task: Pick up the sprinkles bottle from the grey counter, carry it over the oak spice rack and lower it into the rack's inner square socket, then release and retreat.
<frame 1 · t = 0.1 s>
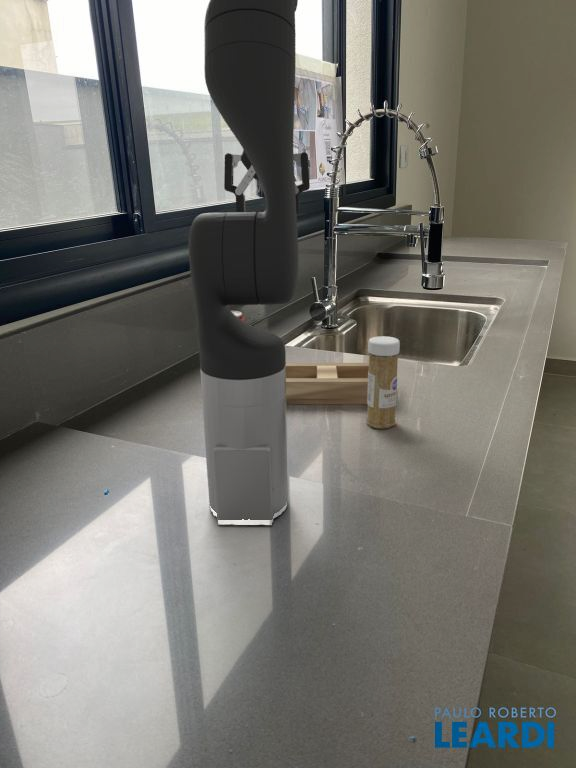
hand: (268, 217, 103), 29 cm above the counter, fingers open, 8 cm apart
beverage can: (231, 376, 116), on the counter
rack: (326, 393, 105), on the counter
sprinkles bottle: (380, 424, 93), on the counter
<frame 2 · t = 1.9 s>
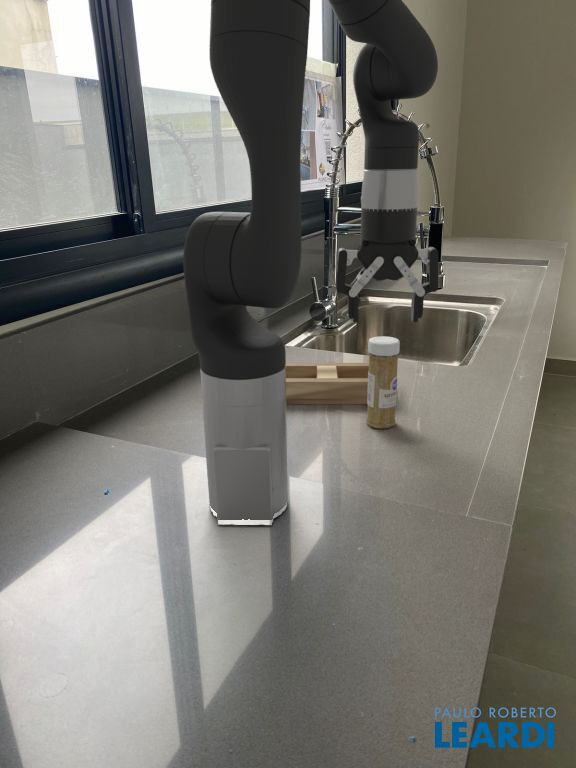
hand: (384, 321, 88), 16 cm above the counter, fingers open, 8 cm apart
nothing on the counter moved.
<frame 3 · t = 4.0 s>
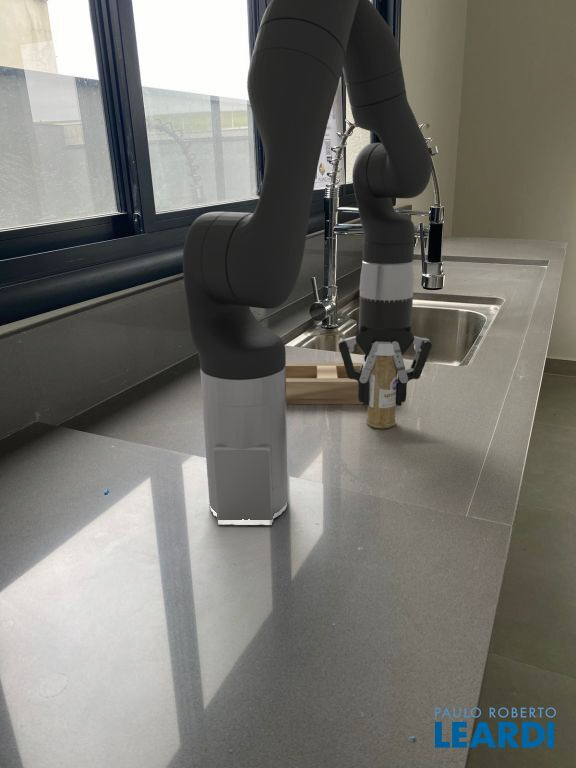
hand: (381, 403, 92), 3 cm above the counter, fingers closed on sprinkles bottle, 4 cm apart
sprinkles bottle: (380, 424, 93), on the counter, touching gripper
everything else where it was.
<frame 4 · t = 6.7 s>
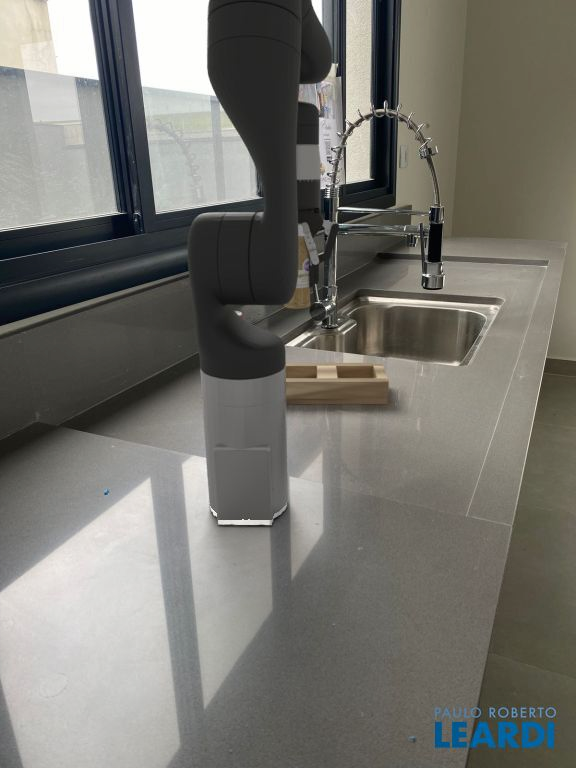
hand: (297, 286, 99), 19 cm above the counter, fingers closed on sprinkles bottle, 4 cm apart
sprinkles bottle: (297, 307, 100), point 15 cm above the counter, touching gripper
everything else where it was.
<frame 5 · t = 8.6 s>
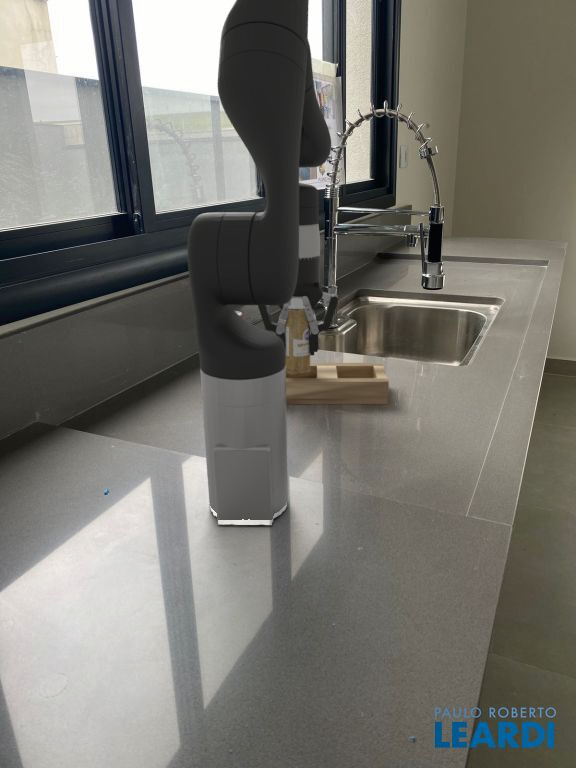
hand: (297, 353, 103), 7 cm above the counter, fingers closed on sprinkles bottle, 4 cm apart
sprinkles bottle: (297, 372, 104), point 4 cm above the counter, touching gripper
everything else where it was.
when the fingers open (6 cm above the counter, at t = 9.8 s): sprinkles bottle drops 1 cm, resting on rack.
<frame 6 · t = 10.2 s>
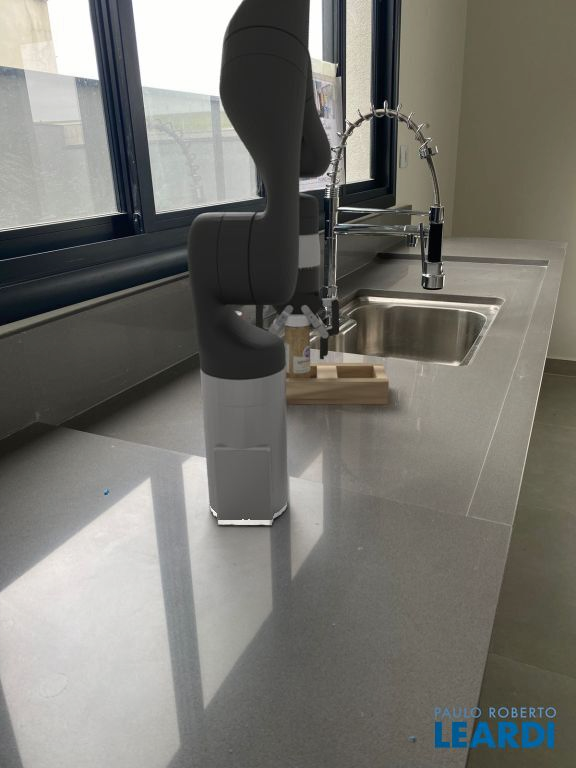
hand: (297, 358, 103), 7 cm above the counter, fingers open, 8 cm apart
sprinkles bottle: (297, 389, 105), point 1 cm above the counter, touching rack
everything else where it was.
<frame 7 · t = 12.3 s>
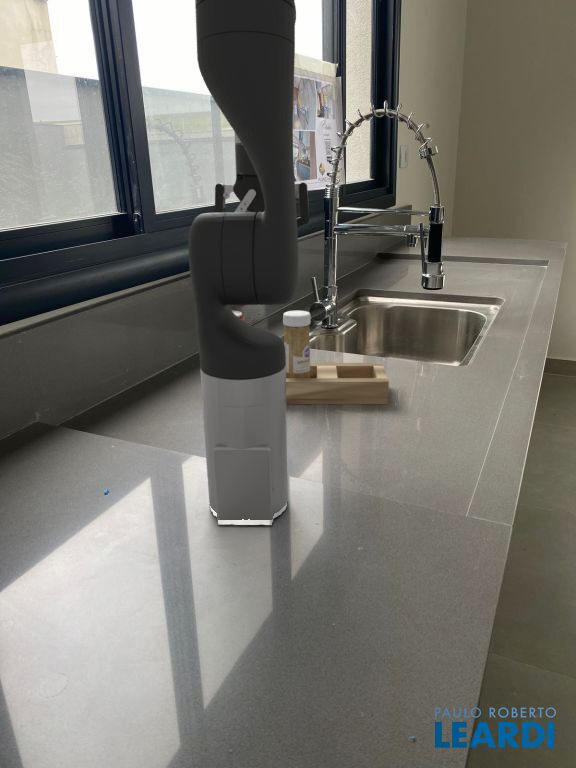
hand: (263, 253, 94), 25 cm above the counter, fingers open, 8 cm apart
nothing on the counter moved.
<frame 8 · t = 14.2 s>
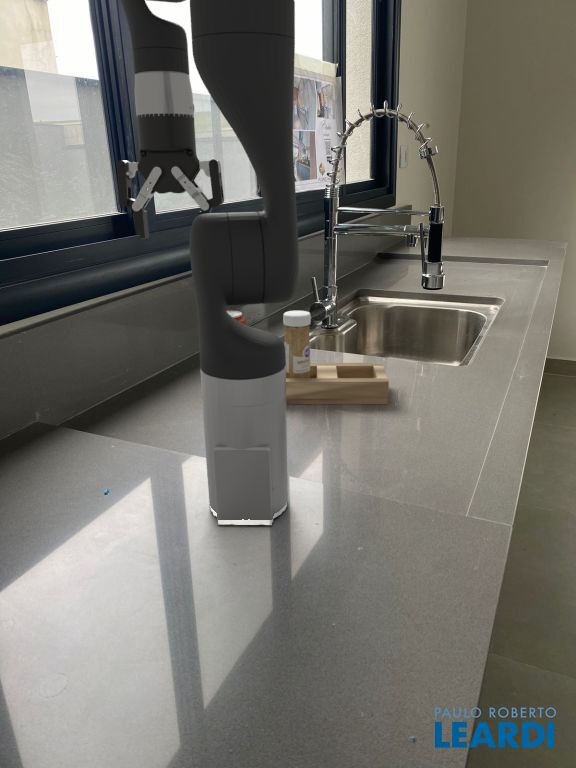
hand: (174, 238, 86), 28 cm above the counter, fingers open, 8 cm apart
nothing on the counter moved.
at the end: sprinkles bottle 0.1 cm from the target spot on the rack, point 0.8 cm above the rack's base; sprinkles bottle tilted 0°; the gripper is holding nothing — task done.
